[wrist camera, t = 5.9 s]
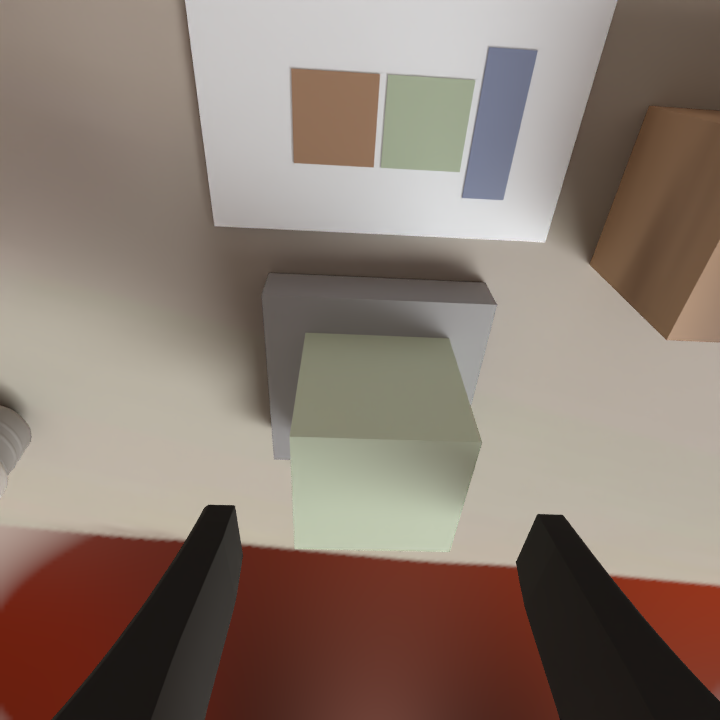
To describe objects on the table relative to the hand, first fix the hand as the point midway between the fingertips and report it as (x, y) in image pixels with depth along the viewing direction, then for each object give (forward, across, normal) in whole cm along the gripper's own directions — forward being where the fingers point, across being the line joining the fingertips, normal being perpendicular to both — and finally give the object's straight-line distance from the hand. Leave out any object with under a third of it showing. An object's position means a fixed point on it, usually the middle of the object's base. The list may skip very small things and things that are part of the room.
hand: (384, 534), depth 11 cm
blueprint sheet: (+7, 0, -8) cm, 11 cm away
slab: (+7, 0, 0) cm, 7 cm away
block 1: (+6, 0, 0) cm, 6 cm away
